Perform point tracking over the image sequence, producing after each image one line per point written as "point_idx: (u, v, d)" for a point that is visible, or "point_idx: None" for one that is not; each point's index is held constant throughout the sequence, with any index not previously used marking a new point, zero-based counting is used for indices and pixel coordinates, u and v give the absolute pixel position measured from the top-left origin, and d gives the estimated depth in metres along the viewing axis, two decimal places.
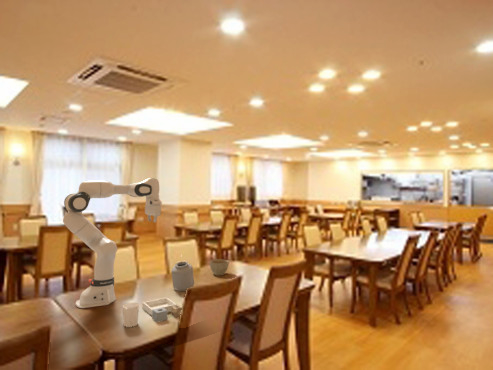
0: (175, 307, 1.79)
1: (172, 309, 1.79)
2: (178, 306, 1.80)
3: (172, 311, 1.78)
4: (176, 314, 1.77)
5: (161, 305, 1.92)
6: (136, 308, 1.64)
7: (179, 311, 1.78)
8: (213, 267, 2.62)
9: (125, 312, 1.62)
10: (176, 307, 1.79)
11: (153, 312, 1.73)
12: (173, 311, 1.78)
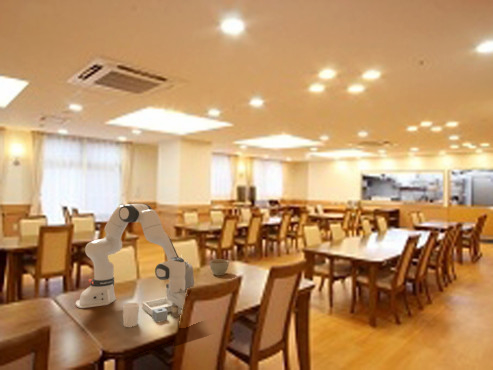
0: (175, 307, 1.79)
1: (172, 309, 1.79)
2: None
3: (172, 310, 1.78)
4: (176, 314, 1.77)
5: (161, 305, 1.92)
6: (136, 308, 1.64)
7: None
8: (213, 267, 2.62)
9: (125, 312, 1.62)
10: (176, 306, 1.79)
11: (153, 312, 1.73)
12: (173, 311, 1.78)
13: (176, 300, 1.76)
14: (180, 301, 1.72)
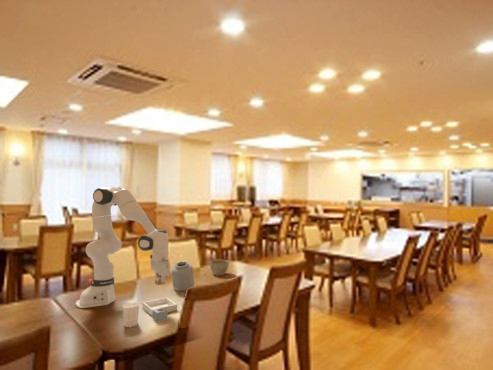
0: (158, 276, 1.87)
1: (155, 278, 1.87)
2: None
3: (156, 279, 1.87)
4: (159, 282, 1.85)
5: (161, 305, 1.92)
6: (136, 308, 1.64)
7: None
8: (213, 267, 2.62)
9: (125, 312, 1.62)
10: (159, 276, 1.87)
11: (153, 312, 1.73)
12: (156, 279, 1.86)
13: (159, 269, 1.84)
14: (162, 269, 1.80)
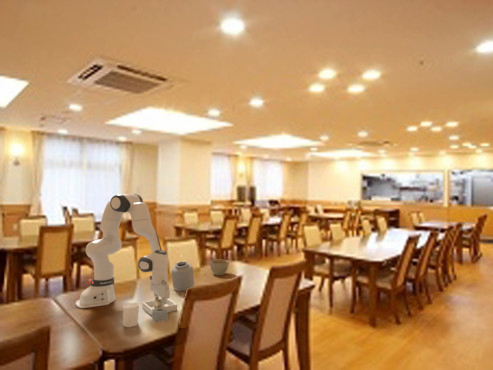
0: (158, 301, 1.87)
1: (155, 302, 1.87)
2: (160, 300, 1.88)
3: (155, 304, 1.86)
4: (159, 307, 1.85)
5: None
6: (136, 308, 1.64)
7: None
8: (213, 267, 2.62)
9: (125, 312, 1.62)
10: (159, 300, 1.87)
11: (153, 312, 1.73)
12: (156, 304, 1.86)
13: (158, 291, 1.84)
14: (162, 292, 1.80)
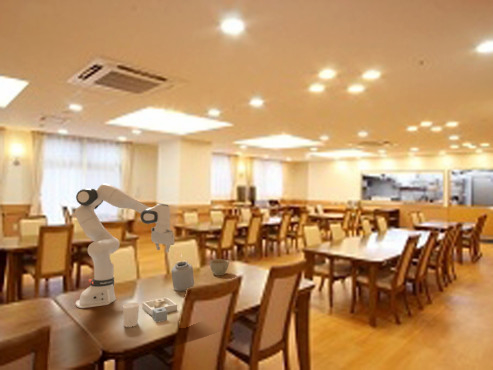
0: (158, 301, 1.87)
1: (155, 302, 1.87)
2: (160, 300, 1.88)
3: (155, 304, 1.86)
4: (159, 307, 1.85)
5: None
6: (136, 308, 1.64)
7: (162, 304, 1.86)
8: (213, 267, 2.62)
9: (125, 312, 1.62)
10: (159, 300, 1.87)
11: (153, 312, 1.73)
12: (156, 304, 1.86)
13: (163, 240, 2.01)
14: (167, 239, 1.98)
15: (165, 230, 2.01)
